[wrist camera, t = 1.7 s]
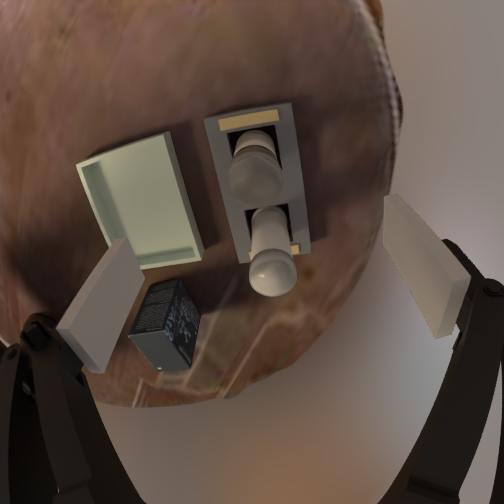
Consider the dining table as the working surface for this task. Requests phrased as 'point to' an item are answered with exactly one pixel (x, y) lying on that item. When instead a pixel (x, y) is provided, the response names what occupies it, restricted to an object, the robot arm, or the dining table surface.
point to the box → (167, 326)
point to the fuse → (271, 253)
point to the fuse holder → (290, 167)
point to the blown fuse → (254, 170)
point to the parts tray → (143, 201)
